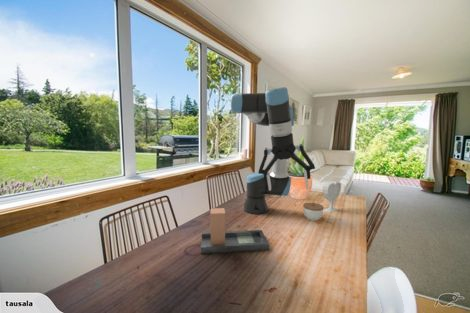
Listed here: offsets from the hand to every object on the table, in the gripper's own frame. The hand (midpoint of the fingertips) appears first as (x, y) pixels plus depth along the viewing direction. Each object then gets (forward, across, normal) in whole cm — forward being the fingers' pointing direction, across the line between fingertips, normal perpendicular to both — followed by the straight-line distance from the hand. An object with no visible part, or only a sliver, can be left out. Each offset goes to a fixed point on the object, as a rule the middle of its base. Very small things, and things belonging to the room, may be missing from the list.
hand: (288, 187), depth 82 cm
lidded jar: (+39, +10, +35) cm, 53 cm away
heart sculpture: (+46, +23, +53) cm, 74 cm away
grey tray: (+24, -26, -2) cm, 36 cm away
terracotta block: (+22, -32, -4) cm, 39 cm away
